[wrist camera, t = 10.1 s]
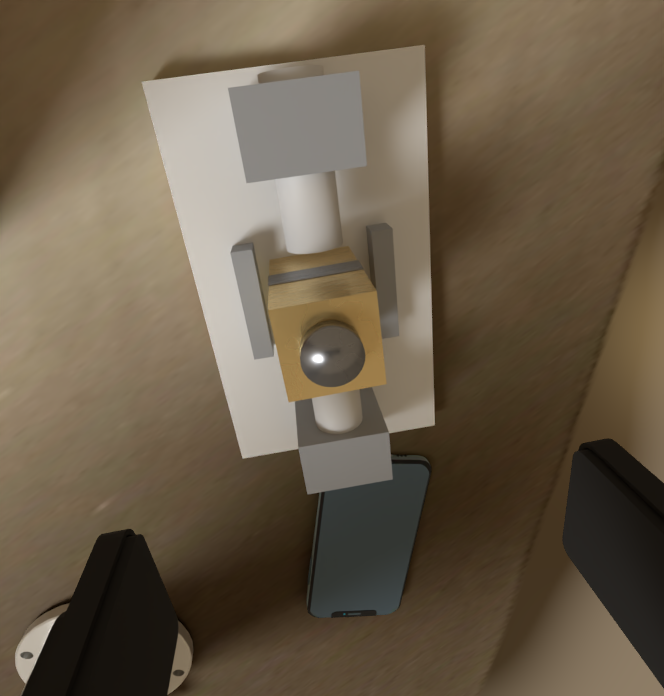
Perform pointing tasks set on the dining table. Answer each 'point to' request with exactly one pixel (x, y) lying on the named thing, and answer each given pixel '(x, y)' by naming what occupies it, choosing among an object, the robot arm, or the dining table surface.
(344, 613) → the smartphone
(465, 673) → the dining table surface
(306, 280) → the block
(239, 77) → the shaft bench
